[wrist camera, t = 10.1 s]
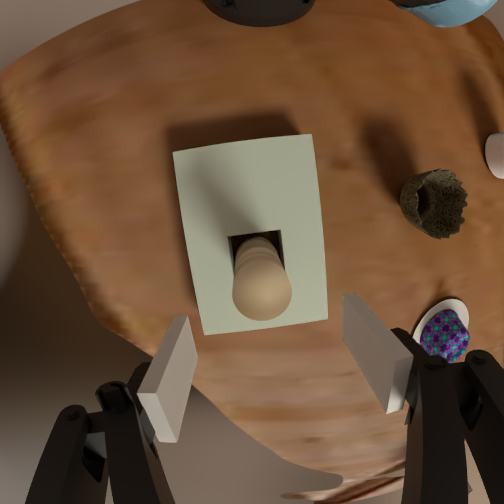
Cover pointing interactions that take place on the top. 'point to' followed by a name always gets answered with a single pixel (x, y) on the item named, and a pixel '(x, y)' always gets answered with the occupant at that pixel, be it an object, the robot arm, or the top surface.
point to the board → (252, 223)
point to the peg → (260, 280)
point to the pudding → (445, 330)
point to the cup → (434, 203)
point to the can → (495, 154)
